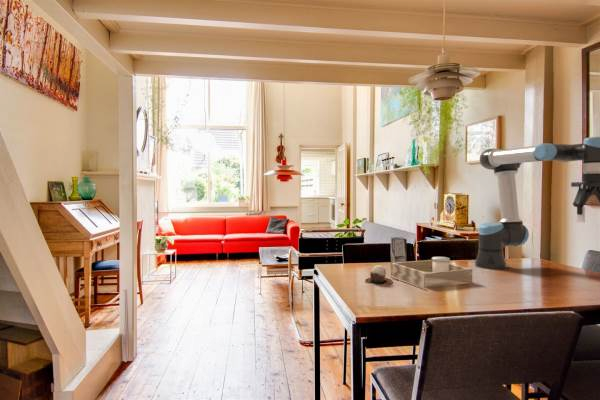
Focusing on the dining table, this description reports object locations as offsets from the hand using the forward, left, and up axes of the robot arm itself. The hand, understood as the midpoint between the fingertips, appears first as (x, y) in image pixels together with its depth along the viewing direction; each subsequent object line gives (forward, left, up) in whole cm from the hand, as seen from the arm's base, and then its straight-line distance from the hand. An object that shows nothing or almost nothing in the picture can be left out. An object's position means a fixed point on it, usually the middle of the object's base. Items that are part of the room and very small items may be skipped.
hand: (592, 222), depth 161 cm
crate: (-29, -63, -27) cm, 74 cm away
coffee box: (-58, -59, -27) cm, 87 cm away
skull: (-36, -85, -28) cm, 96 cm away
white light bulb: (-29, -57, -26) cm, 69 cm away
